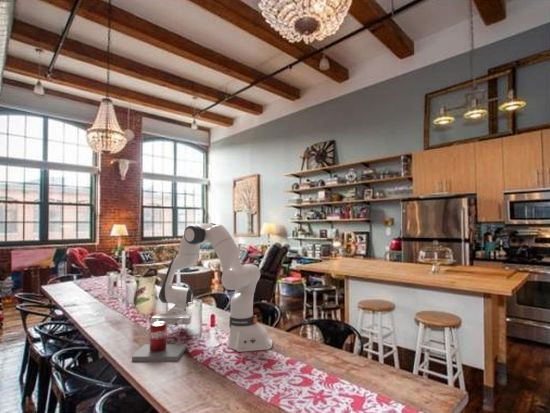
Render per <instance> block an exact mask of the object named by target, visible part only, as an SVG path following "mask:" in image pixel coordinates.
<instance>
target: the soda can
mask: <svg viewBox="0 0 550 413" xmlns="http://www.w3.org/2000/svg"><path fill="white" fill-rule="evenodd" d="M167 326H168V324H166V322H163V321H158V322H154V323H152V324H151V323H150V325H149V344H150V351H151V352H153V353H159V352H162V351H164V350H165V349H166V344H167V338H168V336H167V332H168V330H167V329H168V328H167Z"/></svg>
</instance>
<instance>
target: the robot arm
mask: <svg viewBox="0 0 550 413" xmlns="http://www.w3.org/2000/svg"><path fill="white" fill-rule="evenodd" d="M209 243H210V245H211V247H212V248H213V251H214V252H215V254H216V256H217V258H218V259H219V262H220V264H221V269H222V274H221V284H222V286H223V287H224V288H225V289H227V290H230V291H234V292H233V295H232V296H231V298H230V315H229V321H228V322H229V326H228V327H229V333H228V340H227V343H226V346H227V347H228V348H229V349H231V350H235V351H236V352H238V353H239V352H240V353H243V352H254V351H255V352H256V351H265V350H270V349H271V348H272V347H273V339H272V338H270V337H269V334H268V331H267V329H266V328H265V327H263V326H262V325H261V324H259V323H258V318H257V315H256V314H255V315H254V308H253V307H254V296H255V295H254V294H255V292H256V287H257V284H258V282H259V281H260V278H261V270H260V268H259V266H258V265H256V264H253V263H244V264H242V262H241V259H240V254H241V251H240V248H239V246H237V243H236V241H235V240H234V238H233V236H232V235H231V234H230V232H229V231H228V229H227V228H226V227H225V226H224V225H222V224H215V223H208V222H207V223H202V222H201V223H195V224H194V223H193V224H190V225H188V226H186V228H185V229H184V233H183V235H182V238H181V240H180V243H179V248H178V254H177V255H176V257H174V258H172V260H171V261H170V263H169V266H168V269H167V271H166V273H165V277H164V280H163V283H162V285H161V288H160V290H159V294H158V299H159V300H160V302H161V303H162V304H173V307H171V308H170V309H169V310H168V311H167V312H166V313H156V314H154V315H153V316H150V325H151V324H152V323H154V322H158V321H163V322H166V324H167V325H168V326H169V325H171V326H175V327H177V326H180V325H187V326H188V325H190V324H191V323H192V316H191V315H192V313H191V314H187V312H186V304H187V303H188V302H192V303H193V301H194V293H193V291H192V289H191V288H190V287H183V286H177V285H173V284H172V283H173V280H174V278H175V274H176V272H177V271H179V270H183V269H188V268H191V267H193V266H194V265H196V264H197V262H198V260H199V255H200V251H201V250H200V248H201V245H206V244H209Z"/></svg>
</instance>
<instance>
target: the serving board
mask: <svg viewBox="0 0 550 413" xmlns="http://www.w3.org/2000/svg"><path fill="white" fill-rule="evenodd" d="M186 350H187V344H186V343H183V344H182V343H181V344H177V343H173V344H172V343H169V344H168V343H166V349H165V350H164V351H162V352H159V353H153V352H151V351H150V343H148V344H147V343H145V344H144V345H143V346H141V347H140V348H139V349H138V350H137V351H136V352H135V353H134V354H133V355H132V356H131V362H179V360H180V358H181V357H182V356H183V355H184V352H185V351H186Z"/></svg>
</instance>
